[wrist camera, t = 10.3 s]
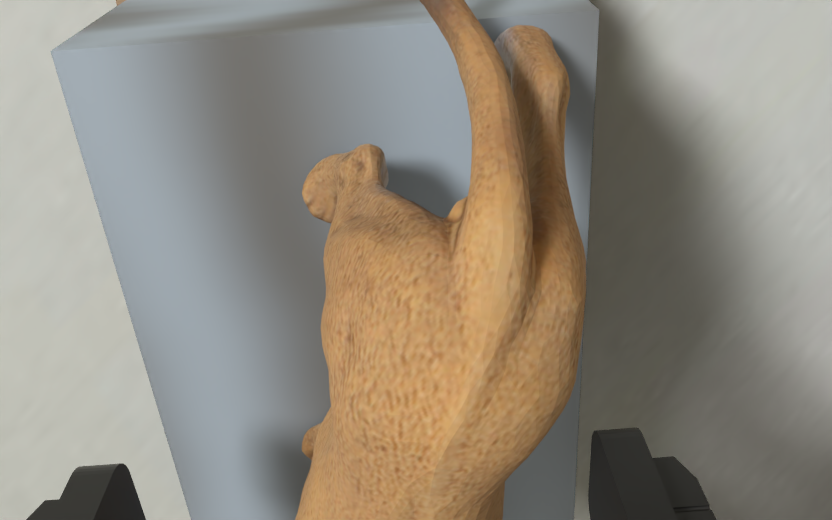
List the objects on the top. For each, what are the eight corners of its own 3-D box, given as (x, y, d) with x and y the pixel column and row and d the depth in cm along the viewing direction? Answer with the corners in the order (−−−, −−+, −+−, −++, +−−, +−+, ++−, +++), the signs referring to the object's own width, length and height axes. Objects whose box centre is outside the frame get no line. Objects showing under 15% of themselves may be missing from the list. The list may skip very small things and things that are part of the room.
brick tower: (530, -88, 21) (632, -25, 12) (527, 355, 28) (589, 589, 20) (165, -60, 21) (10, 22, 12) (257, 374, 28) (200, 617, 20)
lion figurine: (528, 552, 19) (627, 1063, 11) (311, 563, 19) (258, 1085, 11) (568, -106, 12) (933, 40, 4) (217, -93, 12) (-130, 80, 4)
